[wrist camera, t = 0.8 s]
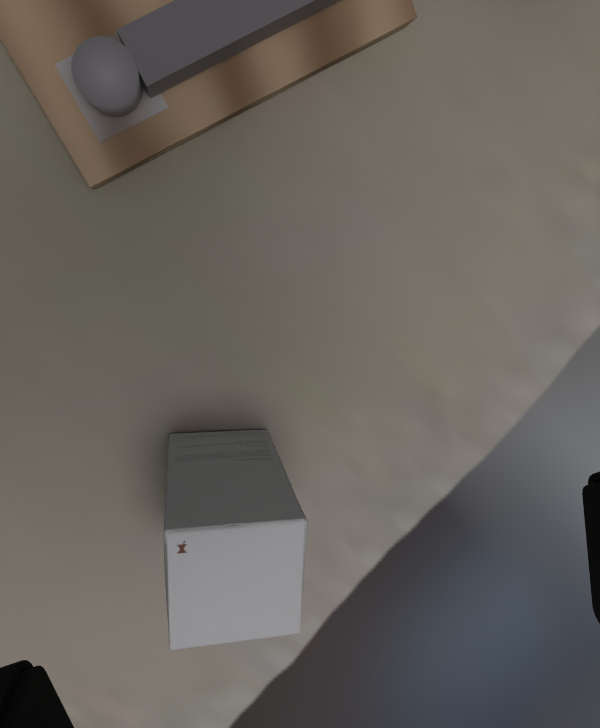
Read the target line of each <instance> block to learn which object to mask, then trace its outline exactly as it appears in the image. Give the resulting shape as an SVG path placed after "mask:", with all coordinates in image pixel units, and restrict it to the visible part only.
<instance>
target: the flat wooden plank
mask: <svg viewBox="0 0 600 728" xmlns="http://www.w3.org/2000/svg"><path fill="white" fill-rule="evenodd" d="M172 1H174V0H0V40H1V41H2V43H3V45H4V46H5V48H6V50H7V51H8V53H9V55H10V56H11V58H12V60H13V61H14V63H15V65H16V66H17V68H18V69H19V71H20V73H21V74H22V76H23V78H24V79H25V81H26V83H27V84H28V86H29V88H30V89H31V91H32V93H33V94H34V96H35V98H36V99H37V101H38V103H39V104H40V106H41V108H42V109H43V111H44V113H45V114H46V116H47V117H48V119H49V121H50V122H51V124H52V126H53V127H54V129H55V131H56V132H57V134H58V136H59V137H60V139H61V141H62V142H63V144H64V146H65V147H66V149H67V151H68V152H69V154H70V156H71V157H72V159H73V160H74V162H75V164H76V165H77V167H78V169H79V170H80V172H81V174H82V175H83V177H84V179H85V180H86V182H87V184H88V185H89V187H90V188H93V189H96V188H98V187H100V186H102V185H104V184H106V183H108V182H110V181H112V180H114V179H116V178H118V177H120V176H121V175H123V174H125V173H127V172H129V171H131V170H133V169H135V168H137V167H139V166H141V165H143V164H144V163H146V162H148V161H150V160H152V159H154V158H156V157H158V156H160V155H162V154H164V153H166V152H167V151H169V150H171V149H173V148H175V147H177V146H179V145H181V144H183V143H185V142H187V141H189V140H190V139H192V138H194V137H196V136H198V135H200V134H202V133H204V132H206V131H208V130H210V129H212V128H213V127H215V126H217V125H219V124H221V123H223V122H225V121H227V120H229V119H231V118H233V117H235V116H237V115H238V114H240V113H242V112H244V111H246V110H248V109H250V108H252V107H254V106H256V105H258V104H260V103H261V102H263V101H265V100H267V99H269V98H271V97H273V96H275V95H277V94H279V93H281V92H283V91H284V90H286V89H288V88H290V87H292V86H294V85H296V84H298V83H300V82H302V81H304V80H306V79H307V78H309V77H311V76H313V75H315V74H317V73H319V72H321V71H323V70H325V69H327V68H329V67H330V66H332V65H334V64H336V63H338V62H340V61H342V60H344V59H346V58H348V57H350V56H352V55H354V54H355V53H357V52H359V51H361V50H363V49H365V48H367V47H369V46H371V45H373V44H375V43H377V42H378V41H380V40H382V39H384V38H386V37H388V36H390V35H392V34H394V33H396V32H398V31H400V30H401V29H403V28H405V27H406V26H407V25H408V24H410V23H411V22H412V21H413V20H414V19H416V18H417V15H416V13H415V10H414V7H413V4H412V1H411V0H341V1H339V2H337V3H335V4H333V5H331V6H329V7H327V8H325V9H323V10H321V11H319V12H317V13H315V14H313V15H311V16H309V17H308V18H306V19H304V20H302V21H300V22H298V23H296V24H294V25H292V26H290V27H288V28H286V29H284V30H282V31H280V32H278V33H276V34H274V35H272V36H271V37H269V38H267V39H265V40H263V41H261V42H259V43H257V44H255V45H253V46H251V47H249V48H247V49H245V50H243V51H241V52H239V53H237V54H236V55H234V56H232V57H230V58H228V59H226V60H224V61H222V62H220V63H218V64H216V65H214V66H212V67H210V68H208V69H206V70H204V71H202V72H201V73H199V74H197V75H195V76H193V77H191V78H189V79H187V80H185V81H183V82H181V83H179V84H177V85H175V86H173V87H171V88H169V89H167V90H165V91H164V92H162V93H160V94H158V95H156V96H154V97H152V98H150V97H149V95H148V94H147V92H146V90H145V88H144V86H143V84H142V88H143V91H142V97H141V101H140V103H139V104H138V106H137V107H136V109H135V110H134V111H132V112H131V113H129V114H127V115H125V116H121V117H111V116H107V115H104V114H102V113H100V112H99V111H97V110H96V109H95V108H94V107H93V106H92V105H91V104H90V103H89V102H88V101H87V99H86V98H85V97H84V96H83V95H82V93H81V92H80V91H79V89H78V88H77V86H76V84H75V82H74V80H73V76H72V71H71V62H72V57H73V54H74V52H75V50H76V49H77V47H78V46H79V45H80V44H81V43H82V42H83V41H85V40H86V39H89V38H91V37H95V36H105V37H110V38H113V39H115V40H117V41H119V42H120V43H121V41H120V38H119V35H118V32H117V29H119V28H121V27H123V26H125V25H127V24H129V23H131V22H133V21H135V20H137V19H139V18H141V17H143V16H144V15H146V14H148V13H150V12H152V11H154V10H156V9H158V8H160V7H162V6H164V5H166V4H168V3H170V2H172Z"/></svg>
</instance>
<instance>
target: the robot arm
mask: <svg viewBox="0 0 600 728" xmlns="http://www.w3.org/2000/svg"><path fill="white" fill-rule="evenodd" d="M582 495H583V506H584V517H585V527H586V538H587V549H588V560H589V572H590V583H591V594H592V605H593V610H594V613H595V616H596V618H597V619H598V622H599V623H600V472H597V473H594V474H592V475H591V476H590V477H589V480H588V485H586V486H585V487H584V488H583V493H582ZM0 728H74V727H73V725H72V723H71V721H70V719H69V717H68V715H67V713H66V711H65V709H64V707H63V705H62V703H61V701H60V699H59V697H58V695H57V693H56V691H55V689H54V687H53V685H52V683H51V681H50V679H49V677H48V675H47V673H46V671H45V670H44V668H43V667H41V666H36V667H33V665H32V664H31V663H30V662H29V661H27V660H22V661H19V662H16V663H13V664H10V665H7V666H4V667H1V668H0Z"/></svg>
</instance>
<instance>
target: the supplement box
mask: <svg viewBox="0 0 600 728" xmlns="http://www.w3.org/2000/svg"><path fill="white" fill-rule="evenodd" d="M307 525H308V520H307V518H306V517H305V515H304V513H303V511H302V509H301V507H300V504H299V502H298V500H297V498H296V495H295V493H294V491H293V488H292V486H291V483H290V481H289V479H288V476H287V474H286V472H285V469H284V467H283V465H282V462H281V460H280V457H279V455H278V453H277V451H276V448H275V446H274V444H273V442H272V440H271V437H270V435H269V433H268V431H267V430H241V431H220V432H198V433H177V434H169V439H168V460H167V479H166V500H165V519H164V563H165V585H166V602H167V615H168V628H169V644H170V649H171V650H177V649H185V648H191V647H199V646H206V645H214V644H222V643H230V642H238V641H246V640H254V639H262V638H270V637H278V636H286V635H295V634H299V633H300V624H301V604H302V590H303V577H304V564H305V551H306V538H307Z"/></svg>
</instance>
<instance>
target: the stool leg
mask: <svg viewBox="0 0 600 728" xmlns="http://www.w3.org/2000/svg"><path fill="white" fill-rule="evenodd" d="M339 1H341V0H174V1H172V2H170V3H168V4H166V5H164V6H162V7H160V8H158V9H156V10H154V11H152V12H150V13H148V14H146V15H144V16H143V17H141V18H139V19H137V20H135V21H133V22H131V23H129V24H127V25H125V26H123V27H121V28H119V29H117V32H118V35H119V38H120V41H121V43H120V42H119V41H117V40H115V39H113V38H110V37H105V36H95V37H91V38H89V39H86V40H85V41H83V42H82V43H81V44H80V45H79V46H78V47H77V49H76V50H75V52H74V54H73V57H72V62H71V71H72V76H73V80H74V82H75V84H76V86H77V88H78V89H79V91H80V92H81V93H82V95H83V96H84V97H85V98H86V99H87V101H88V102H89V103H90V104H91V105H92V106H93V107H94V108H95V109H96V110H97V111H99V112H100V113H102V114H104V115H107V116H111V117H121V116H125V115H127V114H129V113H131V112H132V111H134V110H135V109H136V107H137V106H138V104H139V103H140V101H141V97H142V91H143V88H142V84H143V86H144V88H145V90H146V92H147V94H148V95H149V97H150V98H152V97H154V96H156V95H158V94H160V93H162V92H164V91H165V90H167V89H169V88H171V87H173V86H175V85H177V84H179V83H181V82H183V81H185V80H187V79H189V78H191V77H193V76H195V75H197V74H199V73H201V72H202V71H204V70H206V69H208V68H210V67H212V66H214V65H216V64H218V63H220V62H222V61H224V60H226V59H228V58H230V57H232V56H234V55H236V54H237V53H239V52H241V51H243V50H245V49H247V48H249V47H251V46H253V45H255V44H257V43H259V42H261V41H263V40H265V39H267V38H269V37H271V36H272V35H274V34H276V33H278V32H280V31H282V30H284V29H286V28H288V27H290V26H292V25H294V24H296V23H298V22H300V21H302V20H304V19H306V18H308V17H309V16H311V15H313V14H315V13H317V12H319V11H321V10H323V9H325V8H327V7H329V6H331V5H333V4H335V3H337V2H339Z"/></svg>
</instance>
